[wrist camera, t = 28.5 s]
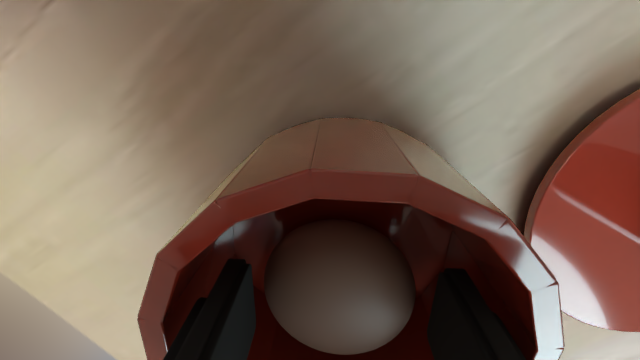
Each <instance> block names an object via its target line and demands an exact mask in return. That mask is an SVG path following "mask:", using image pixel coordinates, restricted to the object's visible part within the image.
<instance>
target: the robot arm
mask: <svg viewBox="0 0 640 360" xmlns="http://www.w3.org/2000/svg"><path fill="white" fill-rule="evenodd" d="M255 328H256V313H255V302H254V290H253V279H252V267H251V264H246V260H245V259H228V260H227V262H226V263H225V265H224V267H223V269H222V271H221V273H220V275H219V277H218V278H217V280H216V282H215V284H214V286H213V288H212V290H211V292H210V294H209V295H208V297H207V298H204V297H200V298H199V299H198V300H197V301H196V303H195V304H194V306H193V308H192V310H191V311H190V313H189V315H188V317H187V318H186V320H185V322H184V324H183V325H182V327H181V329H180V331H179V332H178V334H177V336H176V338H175V339H174V341H173V343H172V345H171V346H170V348H169V350H168V352H167V353H166V355H165V357H164V359H163V360H247V357H248V353H249V350H250V347H251V343H252V340H253V336H254V333H255ZM427 338H428V342H429V345H430V348H431V351H432V354H433V357H434V360H526V358H525V357H524V355H523V354H522V352H521V350H520V349H519V347H518V346H517V344H516V343H515V341H514V340H513V338H512V336H511V335H510V333H509V332H508V330H507V329H506V327H505V325H504V324H503V322H502V321H501V319H500V318H499V317H498V315H497V314H496V313H494V312H493V311H491V310H490V308H489V307H488V305H487V304H486V302H485V300H484V299H483V297H482V296H481V294H480V292H479V291H478V289H477V288H476V286H475V284H474V283H473V281H472V280H471V278H470V276H469V275H468V273H467V272H466V270H465V269H458V268H446V269H445V270H444V272H440V273H439V276H438V281H437V285H436V290H435V295H434V299H433V304H432V309H431V313H430V318H429V323H428V327H427Z"/></svg>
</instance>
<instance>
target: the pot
mask: <svg viewBox="0 0 640 360" xmlns="http://www.w3.org/2000/svg"><path fill="white" fill-rule="evenodd" d="M329 219H338V220H347V221H353V222H357V223H360V224H363V225H366V226H368V227H370V228H372V229H374V230H376V231H378V232H380V233H381V234H383V235H384V236H385V237H387V238H388V239H389V240H390V241H392V242H393V243H394V244H395V245H396V246H397V247H398V249H399V250H400V251H401V252H402V254H403V255H404V256H405V258H406V260H407V261H408V263H409V265H410V268H411V270H412V273H413V276H414V281H415V288H416V297H415V304H414V308H413V311H412V314H411V317H410V319H409V321H408V322H407V324H406V325H405V327H404V328H403V329H402V331H401V332H400V333H399V334H398V335H397V336H396V337H395V338H393V339H392V340H391V341H390V342H388V343H387V344H385V345H383V346H381V347H379V348H377V349H375V350H372V351H369V352H365V353H360V354H352V355H340V354H331V353H326V352H322V351H319V350H316V349H314V348H311V347H309V346H307V345H305V344H303V343H301V342H300V341H298V340H297V339H295V338H294V337H293V336H291V335H290V334H289V333H288V332H287V331H286V330H285V329H284V328H283V327H282V326H281V325H280V324H279V323H278V321H277V320H276V318H275V317H274V315H273V314H272V312H271V310H270V308H269V305H268V303H267V300H266V296H265V291H264V273H265V268H266V264H267V261H268V259H269V256H270V255H271V253H272V251H273V249H274V248H275V247H276V245H277V244H278V243H279V242H280V241H281V240H282V239H283V238H284V237H285V236H286V235H287V234H289V233H290V232H292V231H293V230H295V229H297V228H298V227H301V226H303V225H305V224H308V223H311V222H315V221H320V220H329ZM228 259H245V260H246V264H251V267H252V279H253V290H254V302H255V313H256V328H255V333H254V336H253V340H252V343H251V347H250V350H249V353H248V357H247V360H434V357H433V354H432V351H431V348H430V345H429V342H428V338H427V327H428V323H429V318H430V313H431V309H432V304H433V299H434V295H435V290H436V285H437V281H438V276H439V273H440V272H444V270H445V269H446V268H458V269H465V270H466V272H467V273H468V275H469V276H470V278H471V280H472V281H473V283H474V284H475V286H476V288H477V289H478V291H479V292H480V294H481V296H482V297H483V299H484V300H485V302H486V304H487V305H488V307H489V308H490V310H491V311H493V312H494V313H496V314H497V315H498V317H499V318H500V319H501V321H502V322H503V324H504V325H505V327H506V329H507V330H508V332H509V333H510V335H511V336H512V338H513V340H514V341H515V343H516V344H517V346H518V347H519V349H520V350H521V352H522V354H523V355H524V357H525V358H526V360H559V358H560V356H561V354H562V352H563V350H564V348H563V347H564V336H563V325H562V313H561V302H560V291H559V283H558V281H557V280H556V277H555V276H554V275H553V273H552V272H551V271H550V270H549V268H548V267H547V266H546V264H545V263H544V262H543V260H542V259H541V258H540V257H539V255H538V254H537V253H536V251H535V250H534V249H533V248H532V246H531V245H530V244H529V242H528V241H527V240H526V239H525V237H524V236H523V235H522V233H521V232H520V231H519V230H518V228H517V227H516V226H515V224H514V223H513V222H512V221H511V219H510V218H509V217H508V216H506V215H505V214H504V213H503V212H502V211H501V210H500V209H499V208H497V207H496V206H495V205H494V204H493V203H492V202H491V201H490V200H489V199H487V198H486V197H485V196H484V195H483V194H482V193H481V192H480V191H478V190H477V189H476V188H475V187H474V186H473V185H472V184H471V183H469V182H468V181H467V180H466V179H465V178H464V177H463V176H462V175H460V174H459V173H458V172H457V171H456V170H455V169H454V168H453V167H452V166H450V165H449V164H448V163H447V162H446V161H445V160H444V159H443V158H441V157H440V156H439V155H438V154H437V153H436V152H435V151H434V150H432V149H431V148H430V147H429V146H428V145H426V144H424V143H422V142H420V141H418V140H416V139H415V138H413V137H411V136H409V135H408V134H406V133H404V132H402V131H400V130H398V129H396V128H393V127H391V126H388V125H386V124H384V123H382V122H378V121H371V120H366V119H357V118H322V119H317V120H313V121H309V122H306V123H302V124H299V125H296V126H293V127H291V128H289V129H286V130H284V131H282V132H280V133H278V134H275V135H273V136H270V137H268V138H267V139H266V140H265V141H264V142H263V143H262V144H261V145H260V146H259V147H258V148H257V149H255V150H254V151H253V152H252V153H251V154H250V155H249V156H248V157H247V158H246V159H245V160H244V161H243V162H242V163H241V164H240V165H239V166H238V167H237V168H236V169H235V170H234V171H233V172H232V173H231V174H230V175H229V176H228V177H227V178H226V179H225V180H224V181H223V182H222V184H221V185H220V186H219V187H218V188H217V189H216V190H215V191H214V192H213V193H212V194H211V196H210V197H209V198H208V199H207V200H206V201H205V202H204V203H203V204H202V205H201V206H200V207H199V209H198V210H197V211H196V212H195V213H194V214H193V215H192V216H191V217H190V218H189V219H188V221H187V222H186V223H185V224H184V225H183V226H182V227H181V228H180V229H179V230H178V231H177V232H176V234H175V235H174V236H173V237H172V238H171V239H170V240H169V241H168V242H167V243H166V244H165V246H164V247H163V248H162V249H161V250H160V251H159V252H158V253H157V255H156V257H155V260H154V264H153V267H152V270H151V274H150V277H149V280H148V284H147V287H146V290H145V293H144V297H143V300H142V303H141V307H140V310H139V313H138V319H137V320H138V324H139V328H140V332H141V336H142V340H143V344H144V348H145V352H146V356H147V360H163V359H164V357H165V355H166V353H167V352H168V350H169V348H170V346H171V345H172V343H173V341H174V339H175V338H176V336H177V334H178V332H179V331H180V329H181V327H182V325H183V324H184V322H185V320H186V318H187V317H188V315H189V313H190V311H191V310H192V308H193V306H194V304H195V303H196V301H197V300H198V299H199V298H200V297H204V298H207V297H208V295H209V294H210V292H211V290H212V288H213V286H214V284H215V282H216V280H217V278H218V277H219V275H220V273H221V271H222V269H223V267H224V265H225V263H226V262H227V260H228Z"/></svg>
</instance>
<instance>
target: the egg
mask: <svg viewBox="0 0 640 360" xmlns="http://www.w3.org/2000/svg"><path fill="white" fill-rule="evenodd" d="M264 291H265V296H266V300H267V303H268V305H269V308H270V310H271V312H272V314H273V315H274V317H275V318H276V320H277V321H278V323H279V324H280V325H281V326H282V327H283V328H284V329H285V330H286V331H287V332H288V333H289V334H290V335H291V336H293V337H294V338H295V339H297V340H298V341H300V342H301V343H303V344H305V345H307V346H309V347H311V348H314V349H316V350H319V351H322V352H326V353H331V354H340V355H352V354H360V353H365V352H369V351H372V350H375V349H377V348H379V347H381V346H383V345H385V344H387V343H388V342H390V341H391V340H392V339H393V338H395V337H396V336H397V335H398V334H399V333H400V332H401V331H402V329H403V328H404V327H405V325H406V324H407V322H408V321H409V319H410V317H411V314H412V311H413V308H414V304H415V297H416V288H415V281H414V276H413V273H412V270H411V268H410V265H409V263H408V261H407V260H406V258H405V256H404V255H403V254H402V252H401V251H400V250H399V249H398V247H397V246H396V245H395V244H394V243H393V242H392V241H390V240H389V239H388V238H387V237H385V236H384V235H383V234H381V233H380V232H378V231H376V230H374V229H372V228H370V227H368V226H366V225H363V224H360V223H357V222H353V221H347V220H338V219H329V220H320V221H315V222H311V223H308V224H305V225H303V226H301V227H298V228H297V229H295V230H293V231H292V232H290V233H289V234H287V235H286V236H285V237H284V238H283V239H282V240H281V241H280V242H279V243H278V244H277V245H276V247H275V248H274V249H273V251H272V253H271V255H270V256H269V259H268V261H267V264H266V268H265V273H264Z"/></svg>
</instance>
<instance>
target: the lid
mask: <svg viewBox="0 0 640 360" xmlns="http://www.w3.org/2000/svg"><path fill="white" fill-rule="evenodd" d="M524 237H525V239H526V240H527V241H528V242H529V244H530V245H531V246H532V248H533V249H534V250H535V251H536V253H537V254H538V255H539V257H540V258H541V259H542V260H543V262H544V263H545V264H546V266H547V267H548V268H549V270H550V271H551V272H552V273H553V275H554V276H555V277H556V280H557V281H558V283H559V291H560V302H561V311H563V312H564V313H565V314H567V315H569V316H571V317H573V318H575V319H577V320H579V321H581V322H584V323H586V324H589V325H592V326H595V327H600V328H604V329H608V330H616V331H625V332H640V89H638V90H637V91H635V92H633V93H632V94H630V95H628V96H627V97H625V98H623V99H622V100H620V101H619V102H617V103H616V104H614V105H613V106H611V107H610V108H609V109H607V110H606V111H605V112H603V113H602V114H601V115H599V116H598V117H597V118H595V119H594V120H593V121H592V122H591V123H590V124H589V125H588V126H586V127H585V128H584V129H583V130H582V131H581V132H580V133H579V134H578V135H577V136H576V137H575V138H574V139H573V140H572V141H571V142H570V143H569V144H568V145H567V147H566V148H565V149H564V150H563V151H562V152H561V153H560V154H559V156H558V157H557V159H556V160H555V161H554V163H553V164H552V165H551V167H550V168H549V169H548V171H547V172H546V174H545V176H544V178H543V179H542V181H541V183H540V185H539V186H538V188H537V190H536V193H535V195H534V197H533V200H532V202H531V204H530V207H529V211H528V215H527V218H526V222H525V230H524Z"/></svg>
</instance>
